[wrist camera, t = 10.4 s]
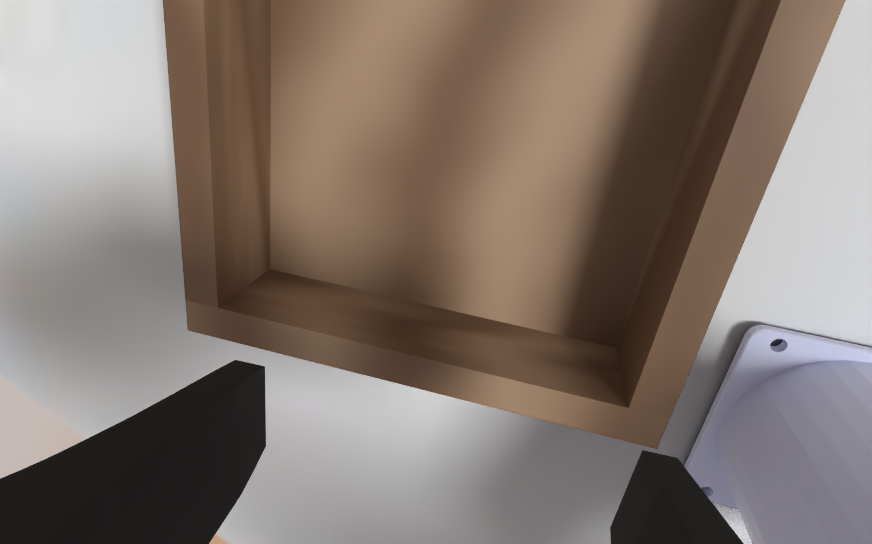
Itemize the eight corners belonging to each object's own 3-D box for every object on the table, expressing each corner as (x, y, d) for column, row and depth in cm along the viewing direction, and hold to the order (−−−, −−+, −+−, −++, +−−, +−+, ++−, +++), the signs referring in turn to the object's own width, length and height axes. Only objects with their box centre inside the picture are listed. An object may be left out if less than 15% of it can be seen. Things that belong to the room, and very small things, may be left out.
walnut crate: (790, -55, 14) (888, -102, 10) (636, 368, 20) (656, 448, 16) (252, -116, 16) (149, -175, 12) (256, 279, 22) (187, 330, 18)
